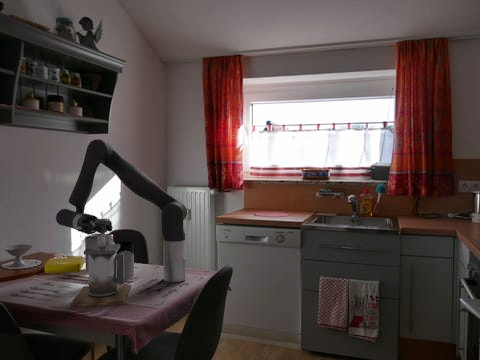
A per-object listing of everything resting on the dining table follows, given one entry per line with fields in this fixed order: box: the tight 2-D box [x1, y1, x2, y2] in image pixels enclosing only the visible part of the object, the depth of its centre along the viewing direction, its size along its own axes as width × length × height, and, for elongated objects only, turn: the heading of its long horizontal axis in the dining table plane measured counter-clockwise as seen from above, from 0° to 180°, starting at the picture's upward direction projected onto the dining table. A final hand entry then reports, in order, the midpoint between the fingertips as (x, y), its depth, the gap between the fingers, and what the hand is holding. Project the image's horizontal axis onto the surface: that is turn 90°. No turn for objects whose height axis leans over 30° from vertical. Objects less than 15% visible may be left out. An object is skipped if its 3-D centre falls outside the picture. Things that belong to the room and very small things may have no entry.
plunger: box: [95, 218, 111, 248], centre depth 150 cm, size 5×5×11 cm
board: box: [71, 284, 132, 308], centre depth 152 cm, size 18×18×2 cm
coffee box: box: [84, 233, 100, 273], centre depth 188 cm, size 9×6×16 cm
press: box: [83, 243, 125, 298], centre depth 151 cm, size 13×11×17 cm
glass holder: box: [115, 241, 136, 282], centre depth 179 cm, size 9×14×15 cm, turn 20°
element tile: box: [44, 255, 84, 275], centre depth 190 cm, size 15×15×5 cm
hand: (106, 229), depth 148 cm, fingers closed on plunger, 3 cm apart
